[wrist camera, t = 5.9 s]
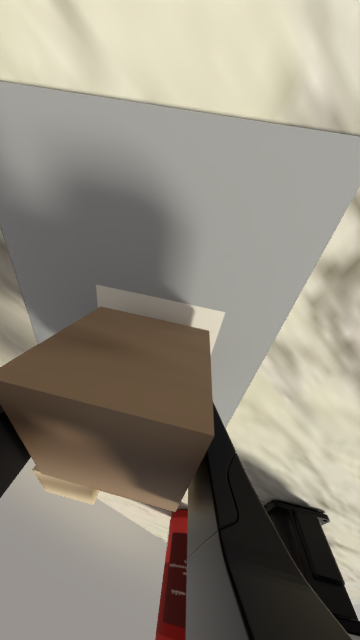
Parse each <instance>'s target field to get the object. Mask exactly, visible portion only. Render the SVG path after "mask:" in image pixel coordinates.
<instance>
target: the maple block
mask: <svg viewBox="0 0 360 640" xmlns="http://www.w3.org/2000/svg"><path fill="white" fill-rule="evenodd" d="M33 472H34V473H35V475H36V476H37V478H38V480H39V481H40V483H41V484H42V486H43V488H44V489H45V491H47V492H50V493H54V494H57V495H61V496H64V497H68V498H71V499H75V500H78V501H82V502H86V503H89V504H92V505H93V504H94V502H95V500H96V498H97V496H98V493H99V491H100V490H96V489H93V488H89V487H86V486H82V485H79V484H75V483H72V482H68V481H65V480H61V479H58V478H54V477H51V476H47V475H44V474H41V473H40V471H39V469H38V468H37V466H35V467H34V468H33Z"/></svg>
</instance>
